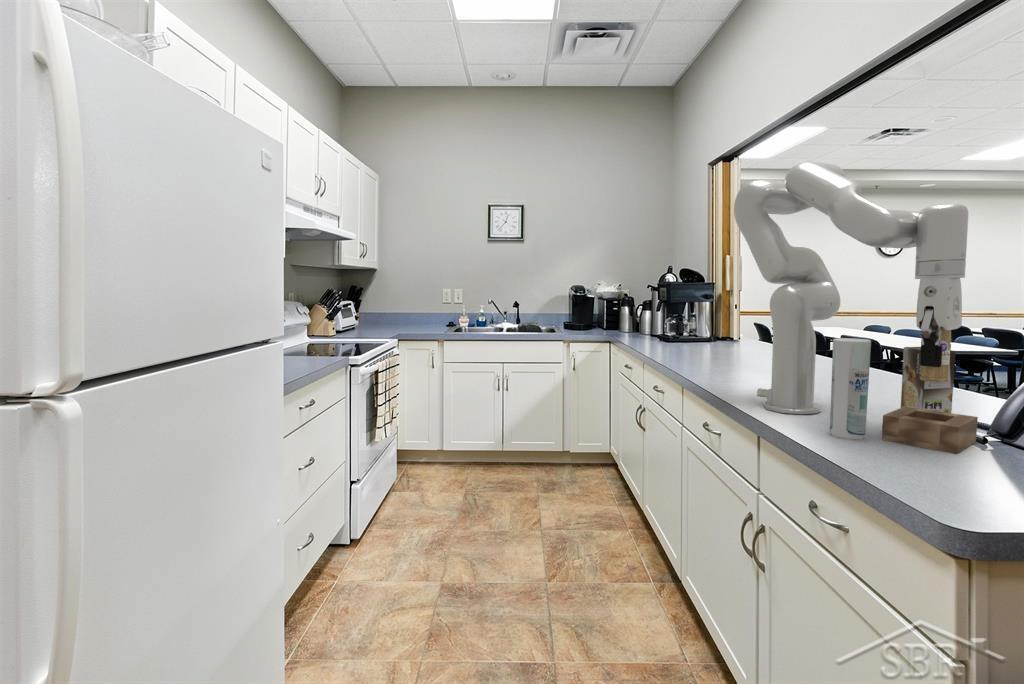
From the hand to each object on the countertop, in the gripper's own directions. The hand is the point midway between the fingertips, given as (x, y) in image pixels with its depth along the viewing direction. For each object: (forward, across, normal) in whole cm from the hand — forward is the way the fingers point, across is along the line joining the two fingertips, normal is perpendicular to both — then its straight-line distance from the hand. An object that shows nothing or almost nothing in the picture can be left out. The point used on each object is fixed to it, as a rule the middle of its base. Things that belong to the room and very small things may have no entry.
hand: (935, 364), depth 103 cm
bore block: (+15, 0, 0) cm, 15 cm away
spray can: (+16, -8, +12) cm, 21 cm away
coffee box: (+16, +24, +8) cm, 29 cm away
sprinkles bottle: (+4, 0, 0) cm, 4 cm away
